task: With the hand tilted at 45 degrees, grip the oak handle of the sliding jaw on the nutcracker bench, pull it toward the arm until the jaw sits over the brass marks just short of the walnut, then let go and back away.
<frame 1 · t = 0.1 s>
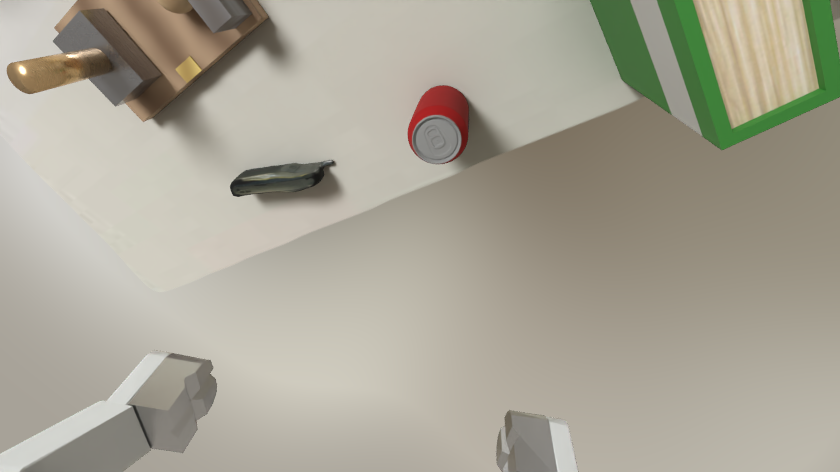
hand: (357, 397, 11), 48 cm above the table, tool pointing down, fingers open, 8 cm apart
mobile phone: (289, 170, 62), on the table
sliding jaw: (77, 66, 47), point 9 cm above the table, slide at 0.0 cm
nutcracker bench: (160, 26, 53), on the table
beverage can: (443, 109, 55), on the table
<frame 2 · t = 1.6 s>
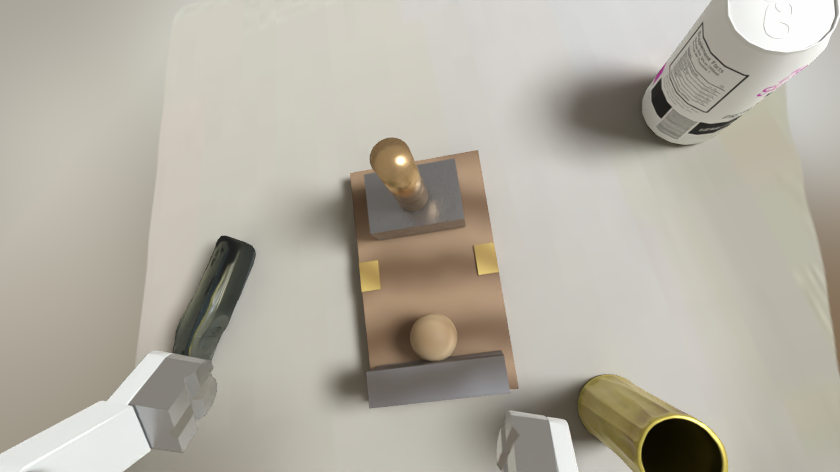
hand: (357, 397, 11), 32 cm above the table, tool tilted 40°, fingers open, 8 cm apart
vase: (610, 407, 39), on the table
mobile phone: (228, 306, 47), on the table
sliding jaw: (406, 185, 36), point 9 cm above the table, slide at 0.0 cm
supplement can: (680, 111, 43), on the table
nutcracker bench: (428, 265, 44), on the table
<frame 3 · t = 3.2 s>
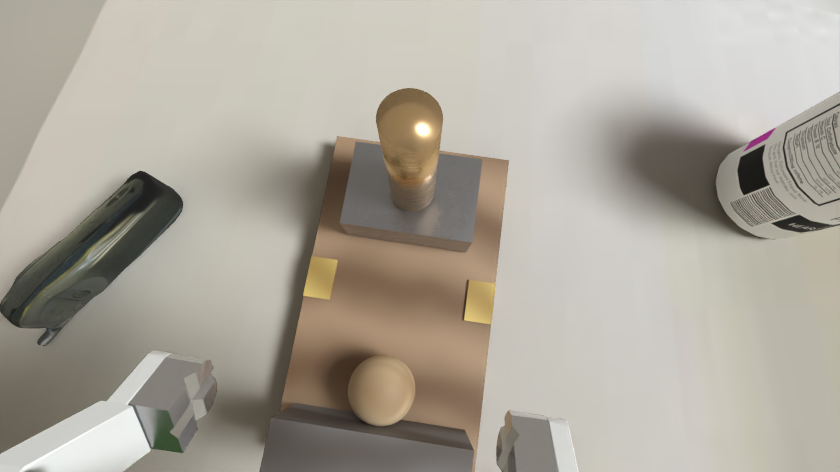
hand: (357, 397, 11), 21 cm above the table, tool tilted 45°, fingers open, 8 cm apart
mobile phone: (116, 264, 34), on the table
sliding jaw: (411, 173, 25), point 9 cm above the table, slide at 0.0 cm
supplement can: (756, 194, 35), on the table
nutcracker bench: (401, 285, 33), on the table
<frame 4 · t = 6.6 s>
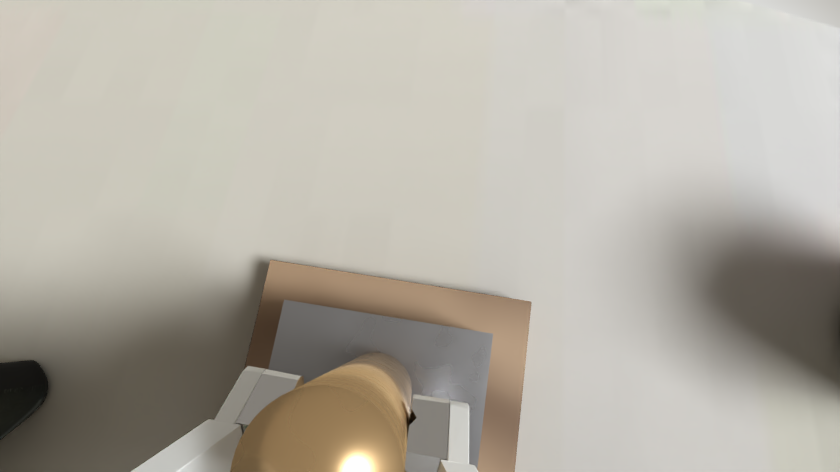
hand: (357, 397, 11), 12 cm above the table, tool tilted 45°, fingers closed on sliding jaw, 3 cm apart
sliding jaw: (365, 404, 14), point 9 cm above the table, slide at 0.0 cm, touching gripper
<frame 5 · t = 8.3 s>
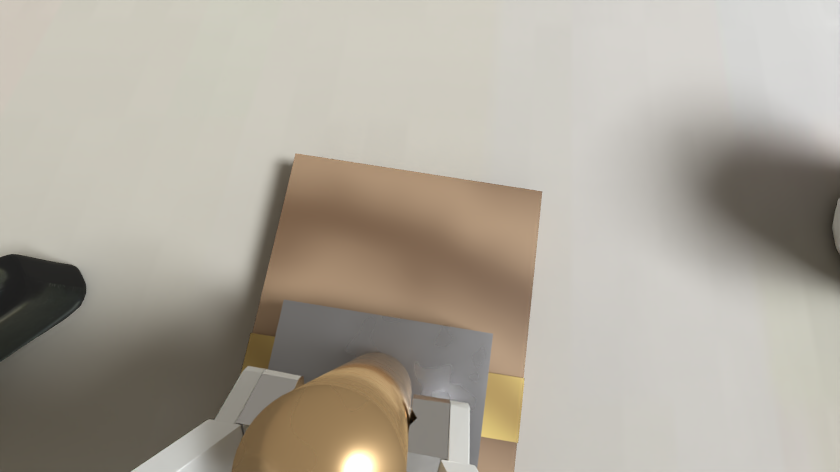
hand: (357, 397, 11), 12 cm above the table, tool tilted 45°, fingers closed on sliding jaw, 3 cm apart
sliding jaw: (365, 404, 14), point 9 cm above the table, slide at 6.1 cm, touching gripper
nutcracker bench: (385, 371, 23), on the table
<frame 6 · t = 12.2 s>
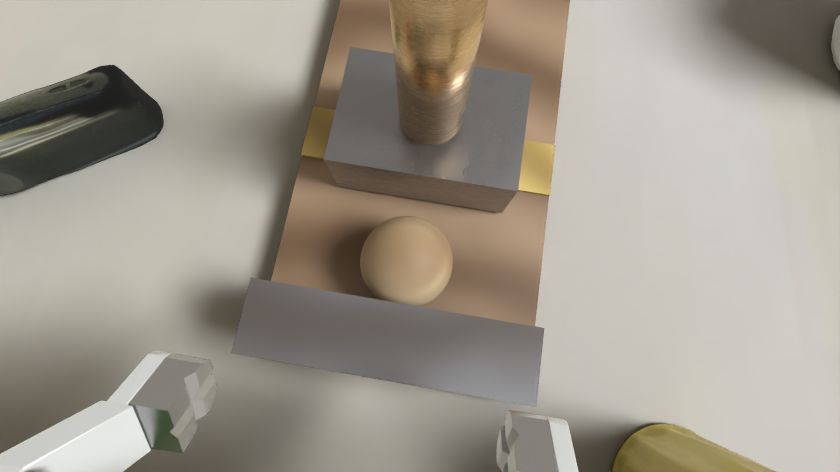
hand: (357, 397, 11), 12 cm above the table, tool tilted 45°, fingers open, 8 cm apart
mobile phone: (54, 166, 26), on the table
sliding jaw: (433, 76, 16), point 9 cm above the table, slide at 6.5 cm
nutcracker bench: (429, 157, 25), on the table
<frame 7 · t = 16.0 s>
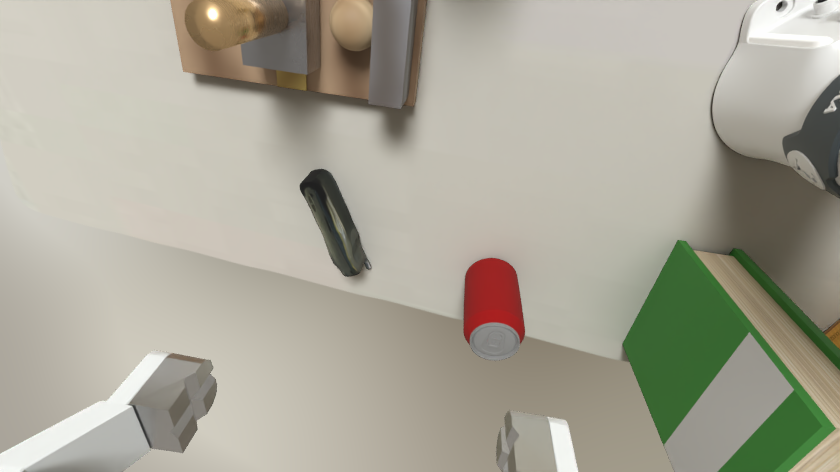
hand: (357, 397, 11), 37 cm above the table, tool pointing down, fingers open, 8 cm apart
mobile phone: (344, 219, 53), on the table
hardback book: (675, 300, 54), on the table
sliding jaw: (254, 17, 32), point 9 cm above the table, slide at 6.5 cm
nutcracker bench: (291, 8, 40), on the table
beverage can: (490, 274, 55), on the table
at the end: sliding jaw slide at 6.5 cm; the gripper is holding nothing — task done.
